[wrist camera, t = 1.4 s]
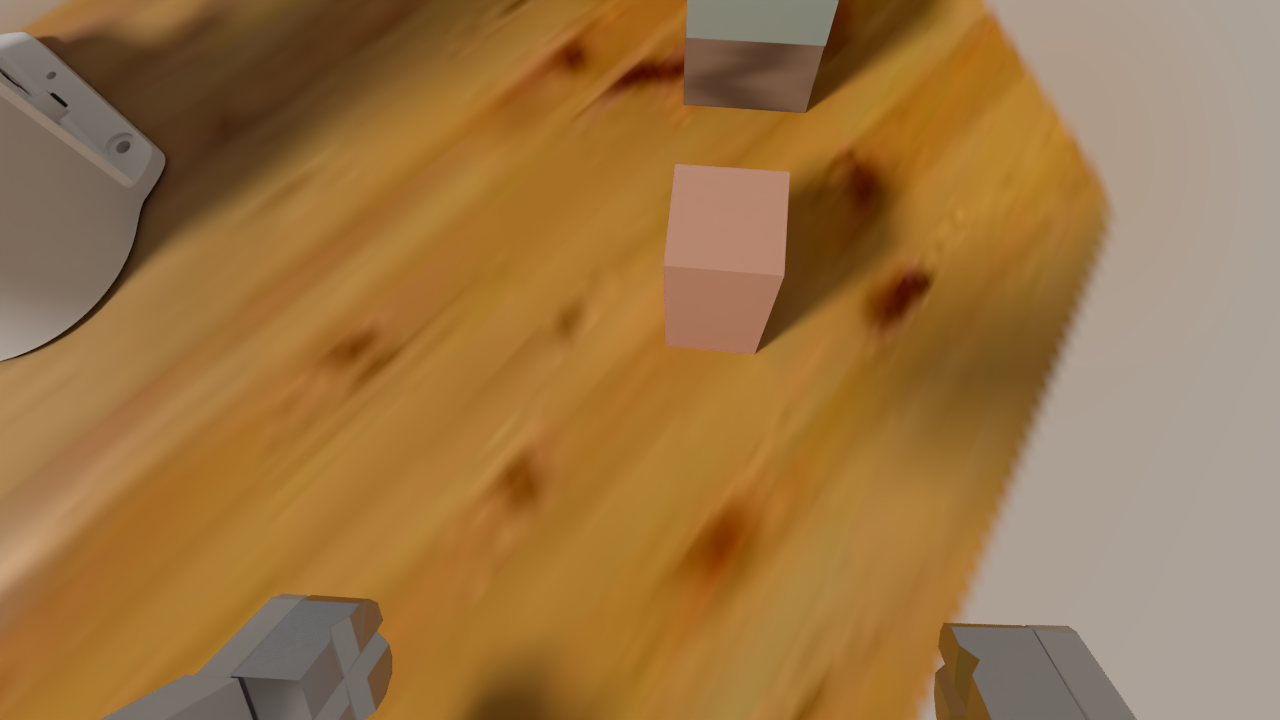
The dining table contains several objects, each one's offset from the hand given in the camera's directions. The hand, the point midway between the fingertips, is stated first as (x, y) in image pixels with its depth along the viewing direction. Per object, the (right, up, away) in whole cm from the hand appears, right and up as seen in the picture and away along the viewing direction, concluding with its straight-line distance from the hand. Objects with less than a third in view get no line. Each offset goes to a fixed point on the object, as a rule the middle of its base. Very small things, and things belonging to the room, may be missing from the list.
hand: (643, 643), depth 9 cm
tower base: (+6, +22, +29) cm, 37 cm away
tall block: (+4, +7, +24) cm, 25 cm away
